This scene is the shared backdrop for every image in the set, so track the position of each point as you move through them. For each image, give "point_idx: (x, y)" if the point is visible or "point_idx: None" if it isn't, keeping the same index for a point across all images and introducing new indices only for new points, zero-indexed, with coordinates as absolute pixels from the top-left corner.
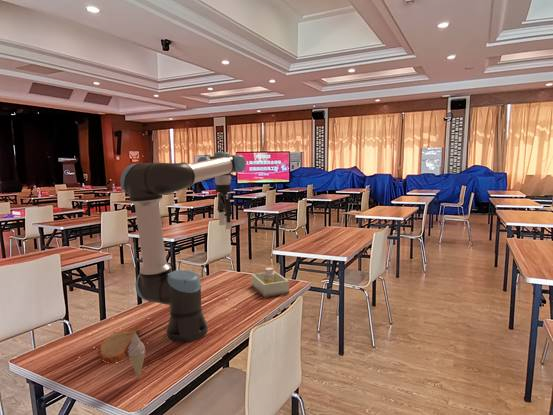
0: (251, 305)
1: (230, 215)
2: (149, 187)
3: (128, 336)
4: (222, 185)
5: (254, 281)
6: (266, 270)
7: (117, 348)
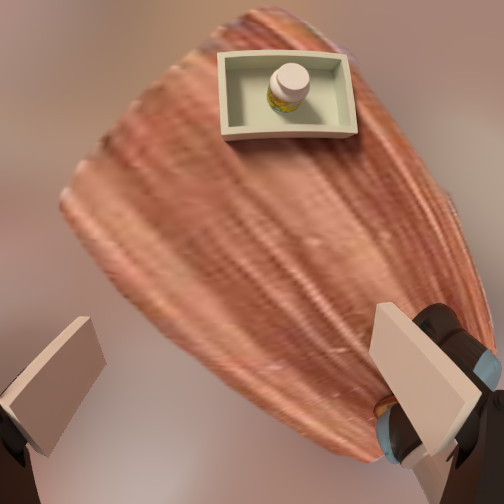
0: (383, 191)
1: (478, 398)
2: None
3: None
4: None
5: (254, 135)
6: (300, 90)
7: None
